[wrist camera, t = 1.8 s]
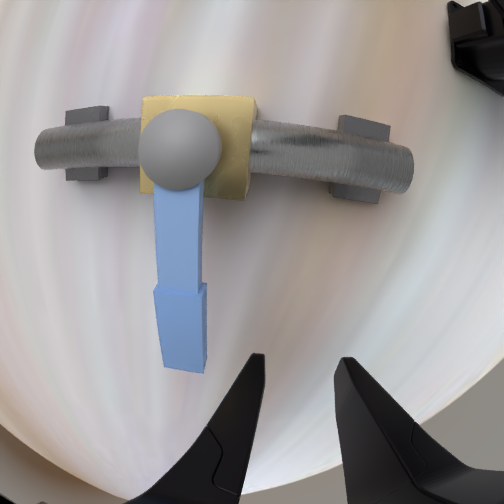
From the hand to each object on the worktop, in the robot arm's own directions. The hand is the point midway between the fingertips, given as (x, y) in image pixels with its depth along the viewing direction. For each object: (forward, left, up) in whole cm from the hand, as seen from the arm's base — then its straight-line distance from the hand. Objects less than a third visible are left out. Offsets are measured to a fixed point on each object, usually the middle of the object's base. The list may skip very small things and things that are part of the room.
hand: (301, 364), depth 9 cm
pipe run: (+5, -6, -11) cm, 13 cm away
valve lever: (+5, -1, -5) cm, 7 cm away
